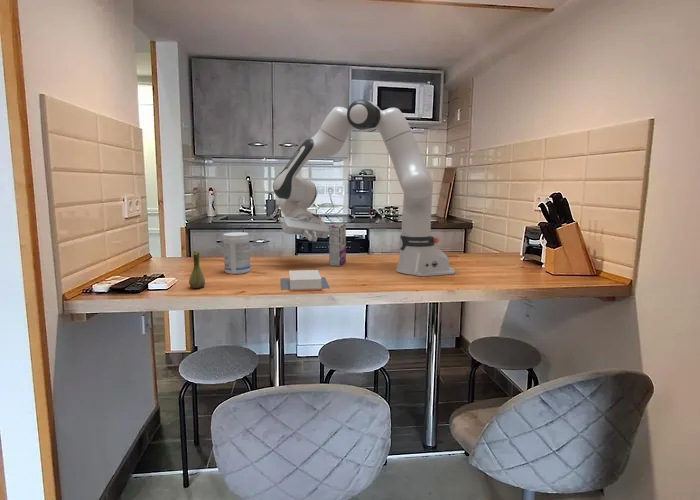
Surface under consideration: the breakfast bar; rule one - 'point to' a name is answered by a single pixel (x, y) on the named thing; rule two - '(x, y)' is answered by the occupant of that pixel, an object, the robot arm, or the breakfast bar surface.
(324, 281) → the felt mat
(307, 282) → the white boxy piece
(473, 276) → the breakfast bar surface
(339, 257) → the candy bar box
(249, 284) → the breakfast bar surface
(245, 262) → the supplement tub
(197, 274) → the fennel bulb
